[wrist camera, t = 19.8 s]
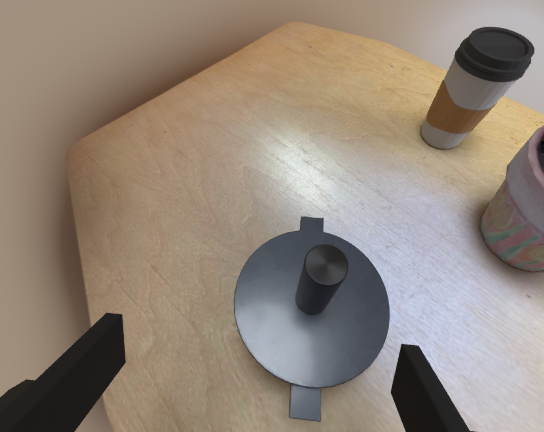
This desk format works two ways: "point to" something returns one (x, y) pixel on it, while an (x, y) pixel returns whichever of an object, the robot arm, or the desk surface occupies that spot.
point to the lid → (311, 309)
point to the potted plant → (519, 210)
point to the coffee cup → (475, 83)
